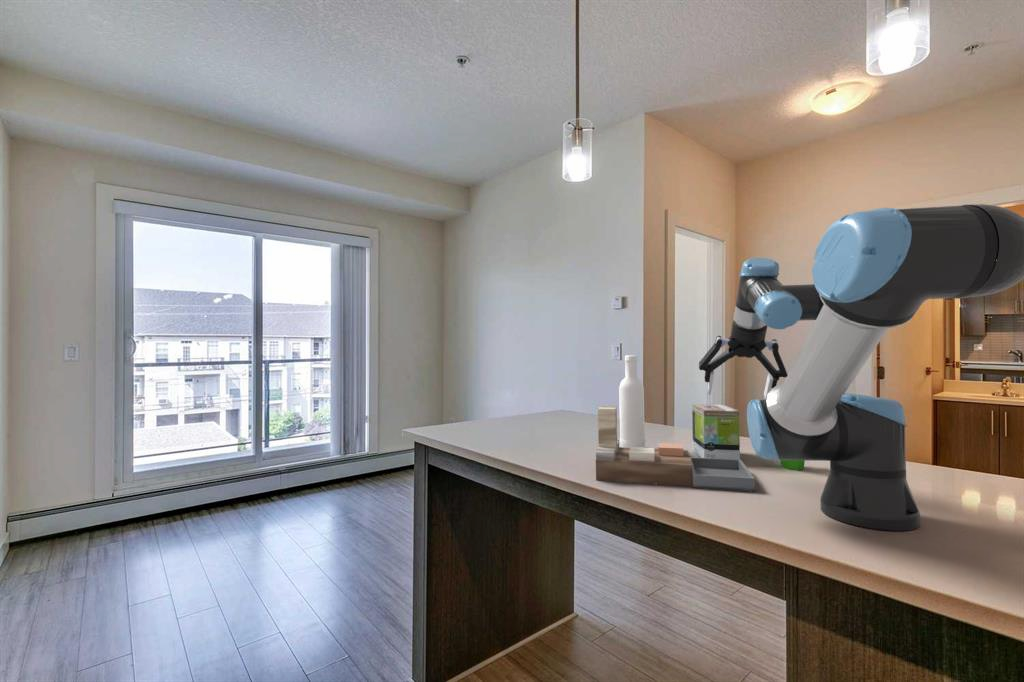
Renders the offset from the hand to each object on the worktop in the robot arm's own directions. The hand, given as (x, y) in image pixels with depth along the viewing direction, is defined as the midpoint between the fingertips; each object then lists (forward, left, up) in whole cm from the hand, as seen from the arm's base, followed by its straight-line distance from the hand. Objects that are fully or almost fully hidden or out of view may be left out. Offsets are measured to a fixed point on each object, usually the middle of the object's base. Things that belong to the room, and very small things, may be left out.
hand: (737, 394), depth 123 cm
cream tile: (-13, +24, -15) cm, 31 cm away
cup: (+7, -14, -20) cm, 26 cm away
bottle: (+21, +28, -20) cm, 40 cm away
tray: (-9, +6, -20) cm, 23 cm away
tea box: (+16, +4, -20) cm, 26 cm away
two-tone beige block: (-9, +33, -15) cm, 37 cm away
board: (-9, +24, -20) cm, 32 cm away
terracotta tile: (-6, +17, -15) cm, 23 cm away
